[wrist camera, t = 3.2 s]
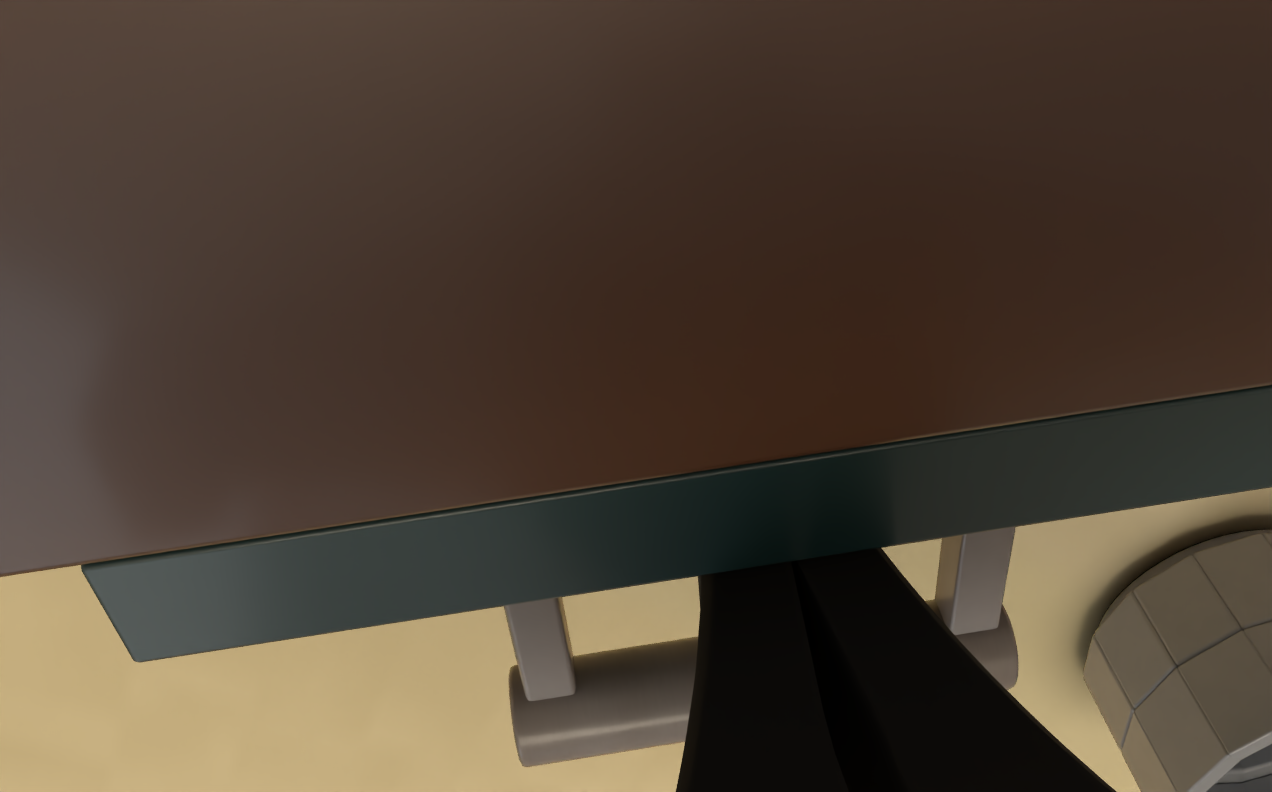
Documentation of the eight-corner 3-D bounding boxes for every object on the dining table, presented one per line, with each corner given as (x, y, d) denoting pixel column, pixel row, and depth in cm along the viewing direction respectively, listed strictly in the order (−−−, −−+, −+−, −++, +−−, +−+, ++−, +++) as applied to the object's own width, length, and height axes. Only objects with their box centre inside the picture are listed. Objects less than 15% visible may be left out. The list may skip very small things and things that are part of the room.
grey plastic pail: (1395, 491, 21) (1551, 666, 18) (1308, 680, 24) (1427, 852, 21) (1100, 537, 20) (1210, 722, 18) (1055, 721, 24) (1141, 901, 21)
